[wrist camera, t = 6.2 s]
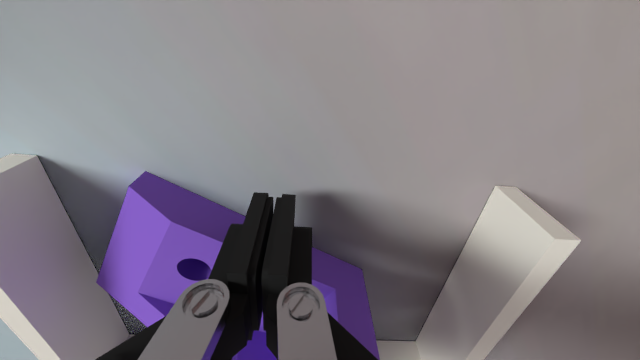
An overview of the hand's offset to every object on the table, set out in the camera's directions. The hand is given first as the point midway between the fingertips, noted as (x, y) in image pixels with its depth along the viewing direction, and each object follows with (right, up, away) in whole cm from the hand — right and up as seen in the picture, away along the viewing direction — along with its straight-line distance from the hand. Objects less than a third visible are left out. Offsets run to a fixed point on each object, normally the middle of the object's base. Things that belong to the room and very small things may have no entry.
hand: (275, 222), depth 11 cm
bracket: (-3, -3, +4) cm, 6 cm away
